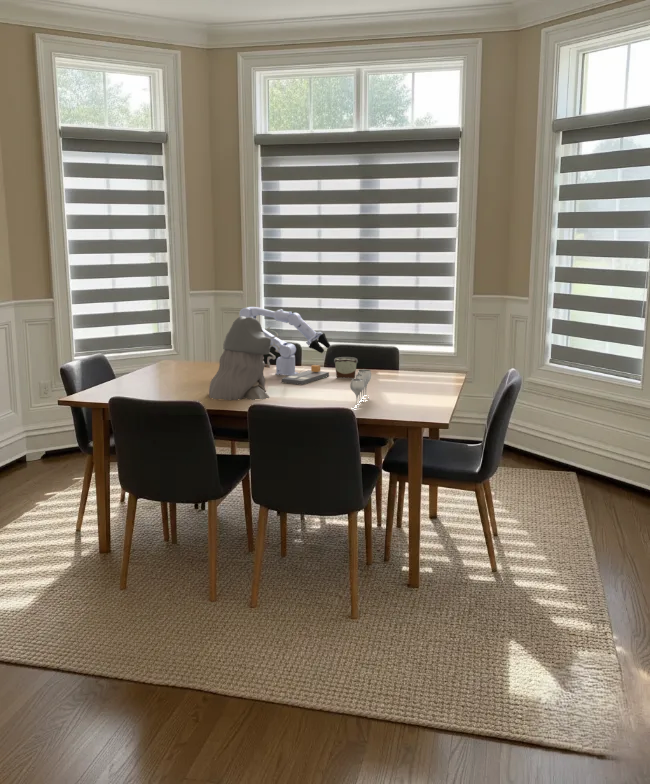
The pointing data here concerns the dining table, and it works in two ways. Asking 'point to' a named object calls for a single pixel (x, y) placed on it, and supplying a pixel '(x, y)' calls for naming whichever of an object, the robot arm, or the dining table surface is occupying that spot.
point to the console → (304, 377)
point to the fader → (315, 368)
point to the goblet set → (360, 384)
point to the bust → (243, 362)
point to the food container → (345, 367)
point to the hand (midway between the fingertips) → (326, 349)
